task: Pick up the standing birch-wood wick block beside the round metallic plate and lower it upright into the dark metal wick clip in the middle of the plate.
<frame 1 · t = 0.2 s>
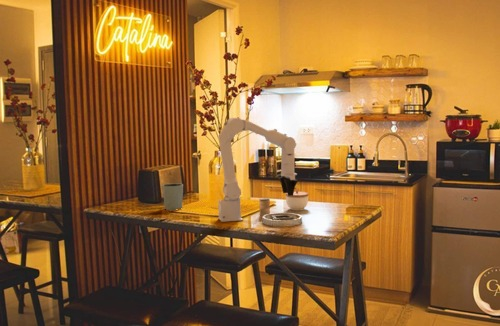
hand: (288, 194, 227), 10 cm above the table, fingers open, 7 cm apart
lidded jar: (297, 209, 243), on the table
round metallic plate: (282, 222, 215), on the table
wood wick: (264, 216, 227), on the table
grey green cup: (173, 209, 250), on the table
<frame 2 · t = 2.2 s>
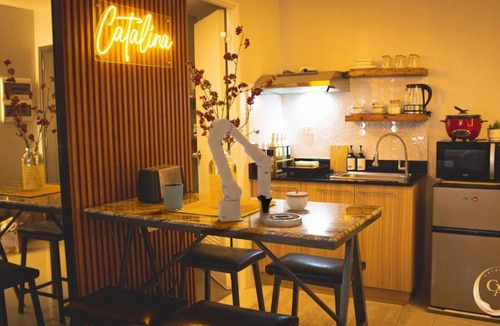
hand: (264, 212, 227), 2 cm above the table, fingers closed on wood wick, 2 cm apart
wood wick: (264, 216, 227), on the table, touching gripper
everything else where it was.
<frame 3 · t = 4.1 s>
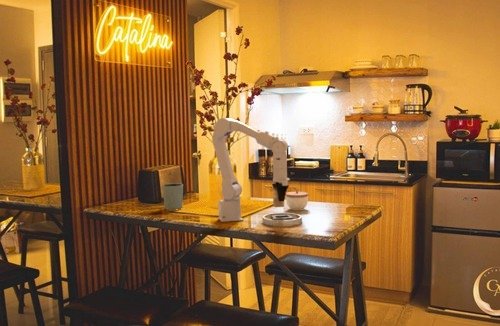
hand: (280, 200, 215), 9 cm above the table, fingers closed on wood wick, 2 cm apart
wood wick: (278, 206, 215), point 7 cm above the table, touching gripper
everything else where it was.
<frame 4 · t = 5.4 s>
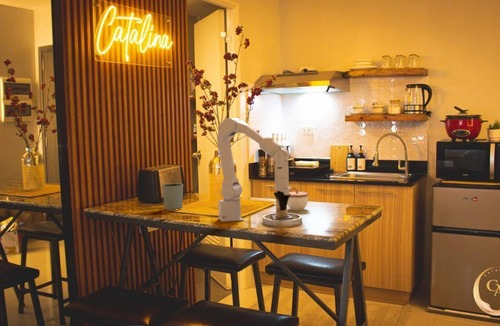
hand: (282, 209, 214), 5 cm above the table, fingers closed on wood wick, 2 cm apart
wood wick: (281, 216, 214), point 3 cm above the table, touching gripper
everything else where it was.
when the fingers open (3 cm above the table, at t = 6.2 s): wood wick stays where it is, resting on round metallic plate.
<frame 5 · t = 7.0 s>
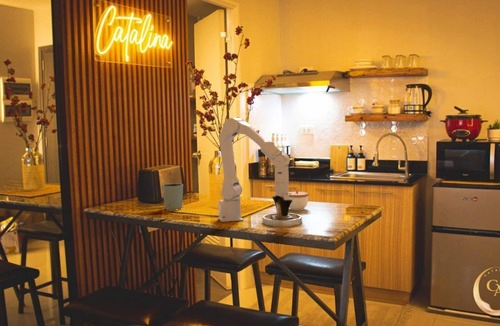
hand: (282, 214, 214), 3 cm above the table, fingers open, 7 cm apart
wood wick: (281, 221, 215), resting on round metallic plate
everything else where it was.
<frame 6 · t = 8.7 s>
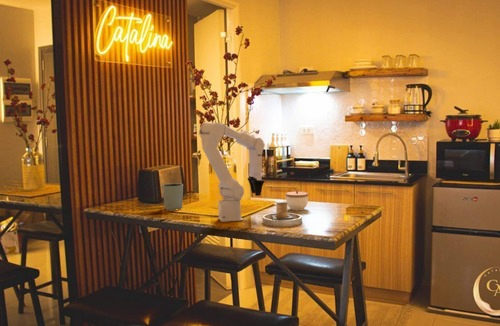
hand: (256, 194, 231), 9 cm above the table, fingers open, 7 cm apart
nothing on the table moved.
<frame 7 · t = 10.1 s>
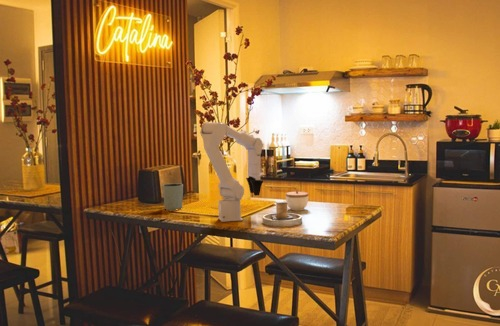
hand: (254, 194, 232), 9 cm above the table, fingers open, 7 cm apart
nothing on the table moved.
at the end: wood wick 0.1 cm off-centre on the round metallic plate, point 0.5 cm above the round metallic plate's base; wood wick tilted 0°; the gripper is holding nothing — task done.
